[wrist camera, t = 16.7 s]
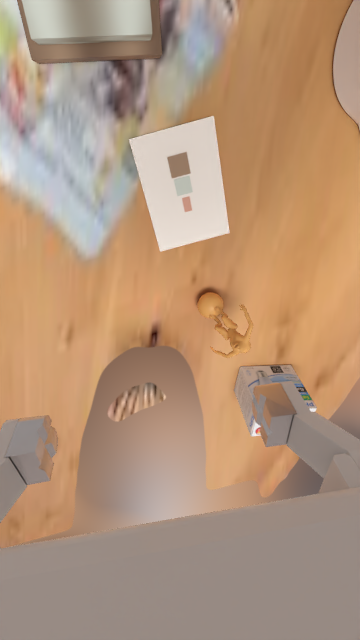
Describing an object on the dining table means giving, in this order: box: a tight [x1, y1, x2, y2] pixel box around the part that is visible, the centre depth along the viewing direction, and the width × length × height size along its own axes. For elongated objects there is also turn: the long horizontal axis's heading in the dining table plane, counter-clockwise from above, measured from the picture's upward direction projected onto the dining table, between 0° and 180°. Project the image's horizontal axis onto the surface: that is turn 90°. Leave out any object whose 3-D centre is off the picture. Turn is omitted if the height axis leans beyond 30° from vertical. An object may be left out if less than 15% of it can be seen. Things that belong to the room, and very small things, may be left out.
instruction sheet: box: [129, 116, 230, 252], centre depth 39 cm, size 10×14×1 cm
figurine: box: [198, 292, 253, 358], centre depth 44 cm, size 8×6×12 cm
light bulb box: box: [234, 365, 317, 436], centre depth 57 cm, size 11×7×11 cm, turn 86°
